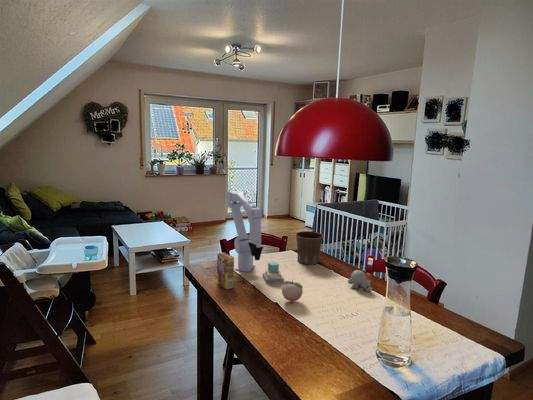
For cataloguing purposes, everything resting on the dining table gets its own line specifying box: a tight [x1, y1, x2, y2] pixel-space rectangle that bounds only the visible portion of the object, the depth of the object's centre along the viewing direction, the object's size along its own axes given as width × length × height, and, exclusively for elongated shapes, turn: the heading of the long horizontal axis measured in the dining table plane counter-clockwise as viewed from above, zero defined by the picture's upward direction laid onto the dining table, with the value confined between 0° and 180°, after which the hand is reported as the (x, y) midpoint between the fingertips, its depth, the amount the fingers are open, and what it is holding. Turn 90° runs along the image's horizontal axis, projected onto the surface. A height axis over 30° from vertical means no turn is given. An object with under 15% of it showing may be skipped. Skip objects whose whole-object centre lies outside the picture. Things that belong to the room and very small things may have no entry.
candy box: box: [216, 252, 235, 290], centre depth 163 cm, size 9×4×15 cm, turn 39°
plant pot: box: [295, 230, 325, 266], centre depth 198 cm, size 16×16×16 cm
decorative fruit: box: [281, 279, 304, 303], centre depth 148 cm, size 9×8×10 cm
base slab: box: [262, 272, 285, 285], centre depth 172 cm, size 9×9×2 cm
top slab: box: [264, 268, 282, 279], centre depth 171 cm, size 7×7×2 cm
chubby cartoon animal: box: [347, 269, 373, 293], centre depth 163 cm, size 7×12×8 cm, turn 37°
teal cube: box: [267, 261, 280, 273], centre depth 171 cm, size 4×4×4 cm
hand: (255, 258), depth 173 cm, fingers open, 7 cm apart
